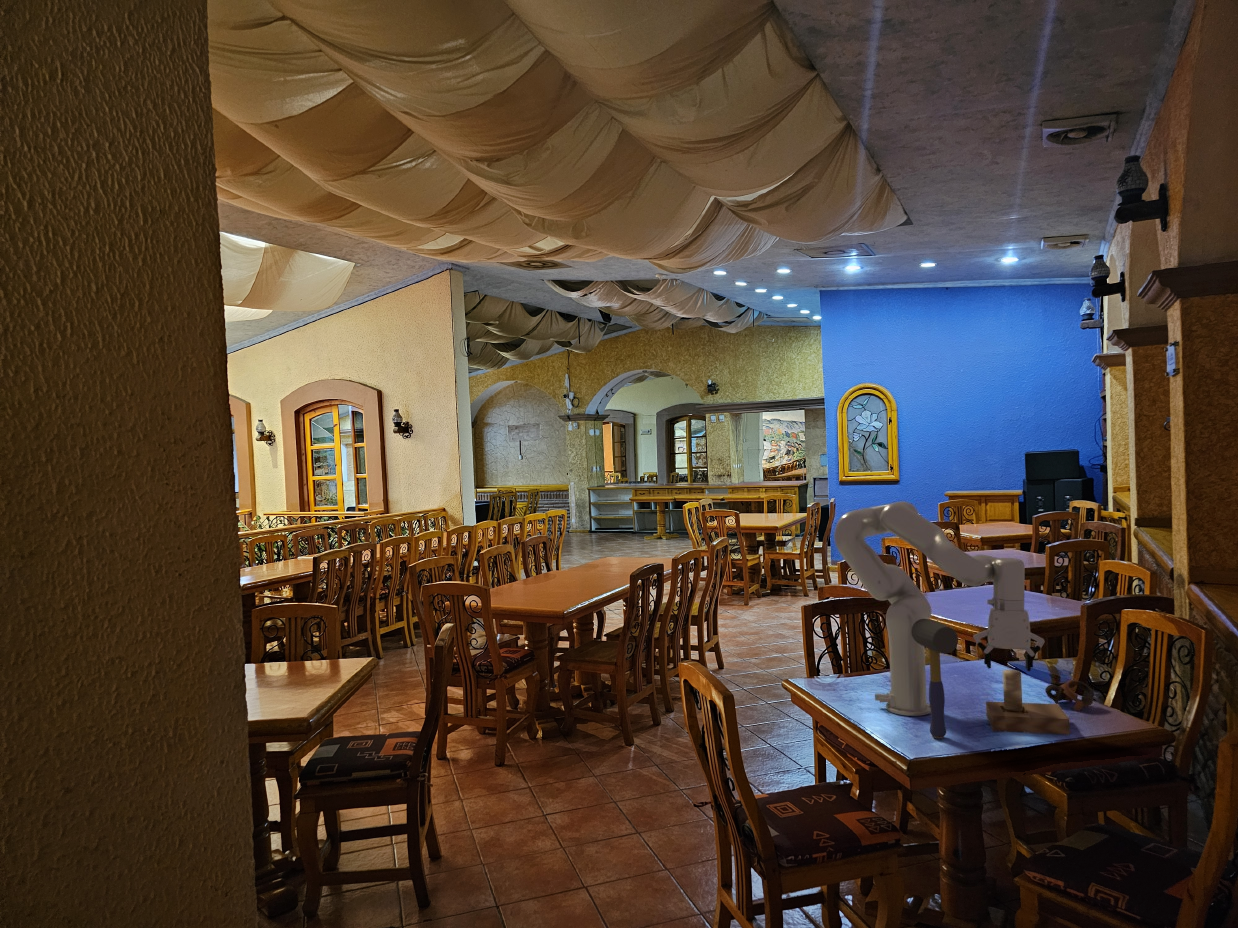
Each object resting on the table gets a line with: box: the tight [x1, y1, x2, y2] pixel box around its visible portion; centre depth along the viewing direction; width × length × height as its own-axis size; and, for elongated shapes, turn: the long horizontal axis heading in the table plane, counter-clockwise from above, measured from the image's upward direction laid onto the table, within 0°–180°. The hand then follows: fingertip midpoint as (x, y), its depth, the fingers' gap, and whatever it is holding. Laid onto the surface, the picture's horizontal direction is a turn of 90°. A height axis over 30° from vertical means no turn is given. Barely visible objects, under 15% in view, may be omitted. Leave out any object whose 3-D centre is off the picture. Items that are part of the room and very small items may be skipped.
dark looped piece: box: [1044, 679, 1095, 712], centre depth 236 cm, size 12×9×8 cm
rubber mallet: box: [911, 618, 959, 740], centre depth 215 cm, size 12×8×30 cm, turn 8°
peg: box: [1002, 669, 1023, 713], centre depth 222 cm, size 5×5×14 cm
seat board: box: [985, 700, 1071, 735], centre depth 222 cm, size 18×13×4 cm
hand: (1008, 668), depth 223 cm, fingers open, 9 cm apart
